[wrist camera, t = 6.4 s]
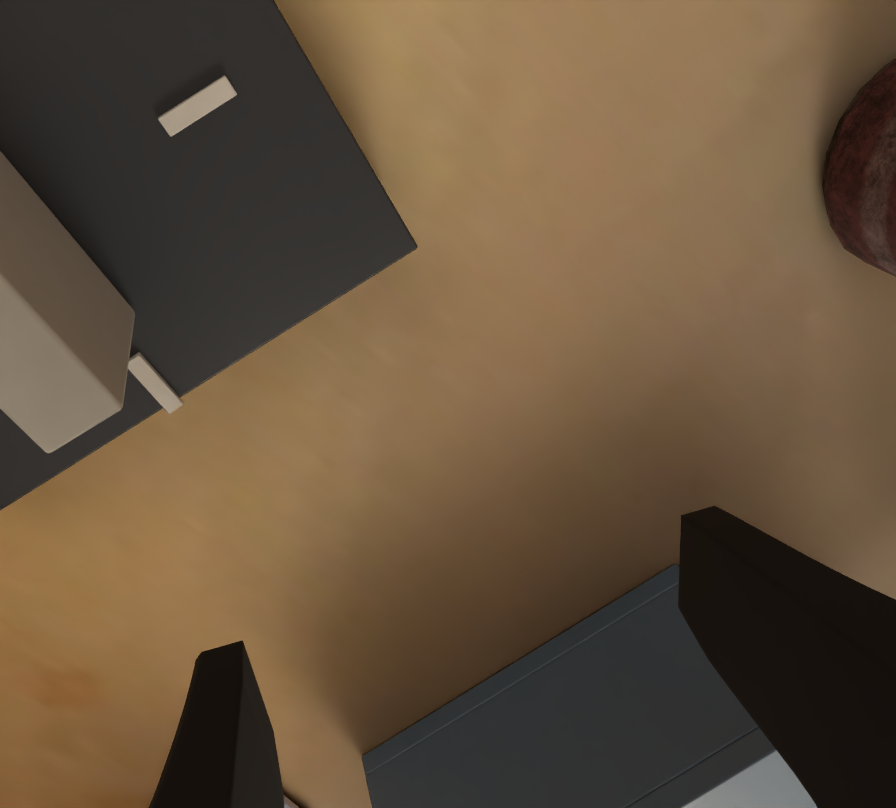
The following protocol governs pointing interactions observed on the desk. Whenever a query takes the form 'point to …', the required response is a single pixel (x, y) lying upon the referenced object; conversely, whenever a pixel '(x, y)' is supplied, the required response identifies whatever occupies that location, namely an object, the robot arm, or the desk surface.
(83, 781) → the desk surface
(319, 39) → the desk surface
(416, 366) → the desk surface
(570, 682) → the compartment
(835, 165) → the can
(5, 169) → the grey block
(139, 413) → the control panel
